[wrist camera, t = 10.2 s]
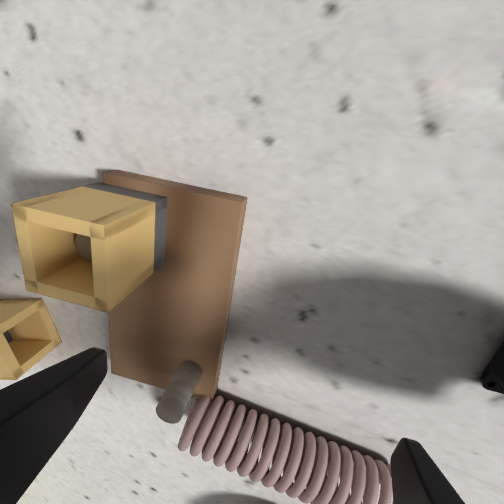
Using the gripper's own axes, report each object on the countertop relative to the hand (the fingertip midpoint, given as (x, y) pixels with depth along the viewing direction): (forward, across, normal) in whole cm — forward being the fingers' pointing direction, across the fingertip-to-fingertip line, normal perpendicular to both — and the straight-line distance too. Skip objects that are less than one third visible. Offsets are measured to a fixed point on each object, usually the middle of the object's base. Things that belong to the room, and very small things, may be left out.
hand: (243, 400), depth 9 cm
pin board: (+12, +8, +6) cm, 15 cm away
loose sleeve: (+10, +10, 0) cm, 14 cm away
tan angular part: (+10, +24, +14) cm, 30 cm away
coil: (+12, -4, +17) cm, 21 cm away
